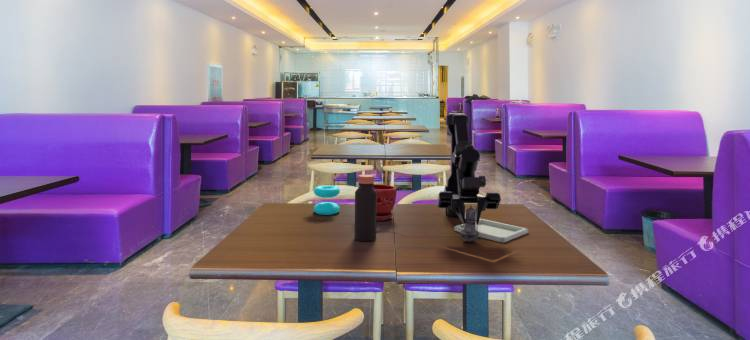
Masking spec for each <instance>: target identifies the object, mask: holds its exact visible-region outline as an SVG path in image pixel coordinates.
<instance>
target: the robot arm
mask: <svg viewBox="0 0 750 340" xmlns="http://www.w3.org/2000/svg"><path fill="white" fill-rule="evenodd" d="M444 119H445V120H444V121H445V122H444V124H445V126H446V131H447V133H448V134H449V136H450V174H449V177H448V178H447V180H446V184H445V185H444V190H443V191H442V190H441V191H440V192H439V193H438V196H437V197H438V198H437V207H438V208H439V209H445V213H444V214H443V216H445V217H450V218H454V219H458V218H459V219H460V222H461V224H465V212H466V205H465V204H476V207H475V211H476V224H477V225H478V224H479V219H481V214H482V212H485V211H486V210H497V209H498V208H499V205H500V203H501V200H502V198H501V194H500V193H499V192H486V194H485V196H480V195H479V194H480V188H485V187H486V185H487V180H486V176H485V175H479V176H478V177H476V173H475V172H476V170H477V168H478V165H479V162H480V161H481V160H480V159H481V153H479V151H478V150H477V149H475V147H474V145H472V144H471V143H470V139H469V138H470V137H469V132H468V131H469V130H468V126H470V115H468V114H466V113H465V112H464V113H463V112H448V115H445V118H444ZM478 195H479V196H478Z"/></svg>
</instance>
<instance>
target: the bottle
mask: <svg viewBox="0 0 750 340" xmlns="http://www.w3.org/2000/svg"><path fill="white" fill-rule="evenodd" d="M357 181H358V188H356V190H355V191H354V239H355V240H356V241H358V242H367V243H368V242H373V241H375V240H377V220H376V213H377V191H376V190H375V189H374V188H373V185H374V184H375V175H373V174H359V175H357Z"/></svg>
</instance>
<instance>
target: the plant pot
mask: <svg viewBox="0 0 750 340" xmlns="http://www.w3.org/2000/svg"><path fill="white" fill-rule="evenodd" d="M373 188H374V189H375V190H376V191H377V213H376V222H377V221H378V222H379V221H381V222H382V221H387V220H390V219H392V217H393V216H394V213H393V212H392V211H393V210H394V207H395V205H396V199H397V187H395V186H393V185H390V184H379V183H377V184H376V183H374V185H373Z"/></svg>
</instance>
